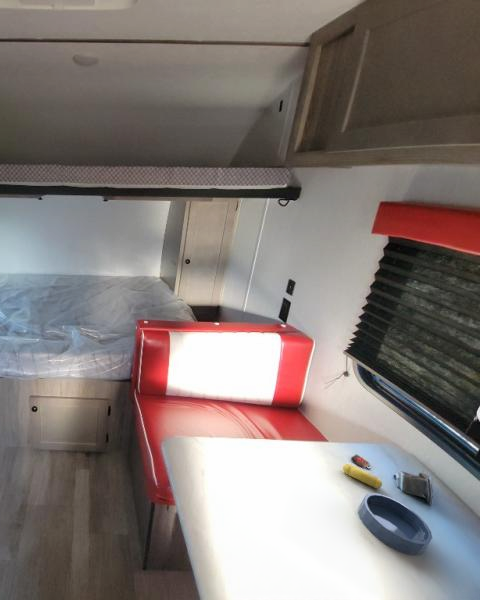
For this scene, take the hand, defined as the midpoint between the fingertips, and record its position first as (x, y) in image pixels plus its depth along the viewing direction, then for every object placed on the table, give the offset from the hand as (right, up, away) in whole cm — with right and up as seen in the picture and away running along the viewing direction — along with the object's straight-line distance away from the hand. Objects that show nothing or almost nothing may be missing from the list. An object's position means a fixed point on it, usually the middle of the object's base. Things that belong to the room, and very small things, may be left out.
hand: (479, 448), depth 76 cm
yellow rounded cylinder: (-10, -17, +20) cm, 28 cm away
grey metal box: (+4, -20, +21) cm, 29 cm away
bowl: (-14, -23, +7) cm, 28 cm away
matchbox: (-4, -17, +27) cm, 32 cm away
